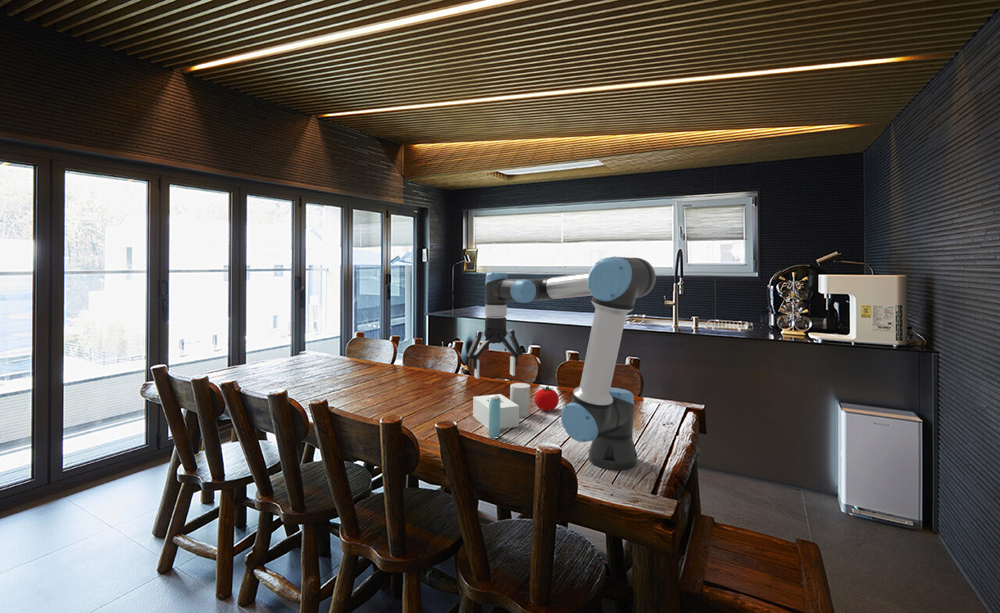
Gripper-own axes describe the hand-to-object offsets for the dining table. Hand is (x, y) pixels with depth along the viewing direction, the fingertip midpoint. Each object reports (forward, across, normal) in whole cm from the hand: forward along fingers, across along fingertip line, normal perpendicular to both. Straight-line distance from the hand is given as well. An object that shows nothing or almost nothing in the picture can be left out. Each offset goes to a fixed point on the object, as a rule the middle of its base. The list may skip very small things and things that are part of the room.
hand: (494, 376), depth 173 cm
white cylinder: (+22, -20, -21) cm, 36 cm away
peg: (+22, 0, 0) cm, 22 cm away
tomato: (+22, -33, -22) cm, 45 cm away
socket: (+22, -7, -16) cm, 28 cm away
